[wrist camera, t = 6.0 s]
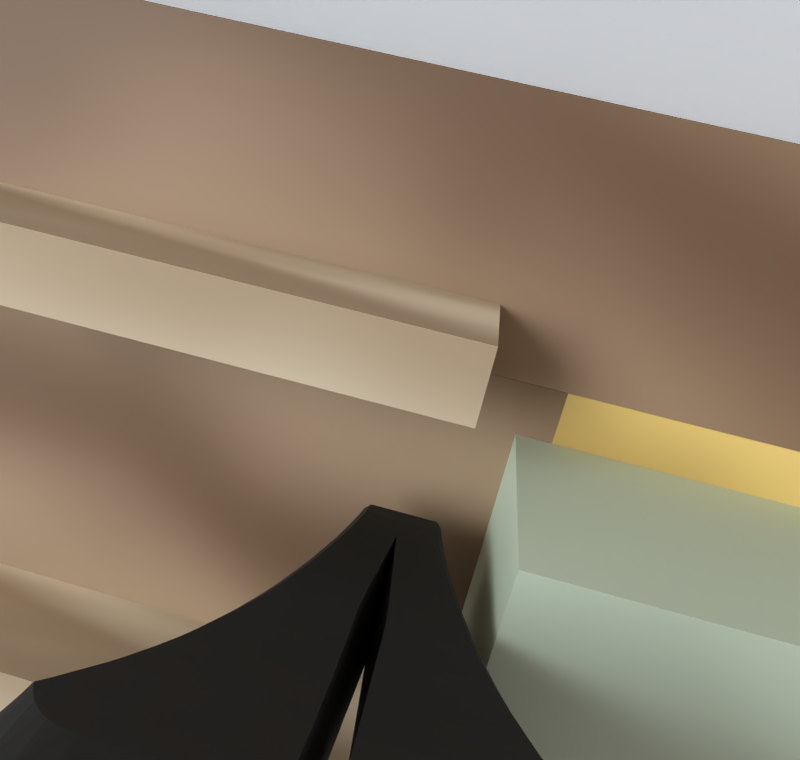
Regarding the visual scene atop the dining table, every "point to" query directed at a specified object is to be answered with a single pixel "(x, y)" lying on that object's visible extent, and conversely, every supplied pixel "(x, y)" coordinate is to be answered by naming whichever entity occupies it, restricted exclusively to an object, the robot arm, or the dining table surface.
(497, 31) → the dining table surface
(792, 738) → the block
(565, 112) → the deck
